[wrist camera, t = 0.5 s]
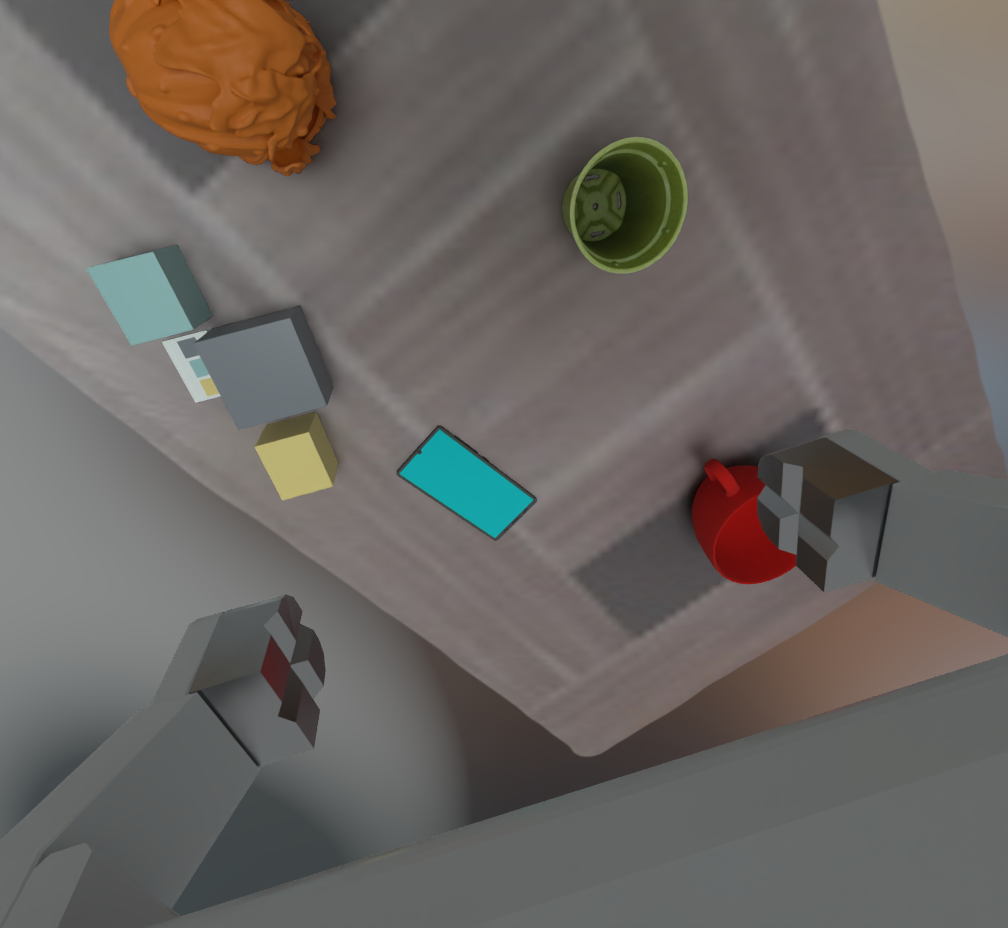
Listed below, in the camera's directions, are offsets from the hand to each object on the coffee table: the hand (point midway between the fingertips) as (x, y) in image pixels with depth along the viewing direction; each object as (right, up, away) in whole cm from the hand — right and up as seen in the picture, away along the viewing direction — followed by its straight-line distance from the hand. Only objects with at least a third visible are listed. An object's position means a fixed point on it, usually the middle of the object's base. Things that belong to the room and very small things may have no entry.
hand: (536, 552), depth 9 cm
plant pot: (+8, +25, +39) cm, 47 cm away
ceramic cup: (+25, -1, +56) cm, 62 cm away
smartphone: (-5, -1, +51) cm, 51 cm away
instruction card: (-28, +10, +39) cm, 50 cm away
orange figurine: (-18, +30, +31) cm, 47 cm away
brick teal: (-29, +16, +36) cm, 49 cm away
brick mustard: (-21, +3, +45) cm, 49 cm away
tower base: (-22, +11, +40) cm, 47 cm away
